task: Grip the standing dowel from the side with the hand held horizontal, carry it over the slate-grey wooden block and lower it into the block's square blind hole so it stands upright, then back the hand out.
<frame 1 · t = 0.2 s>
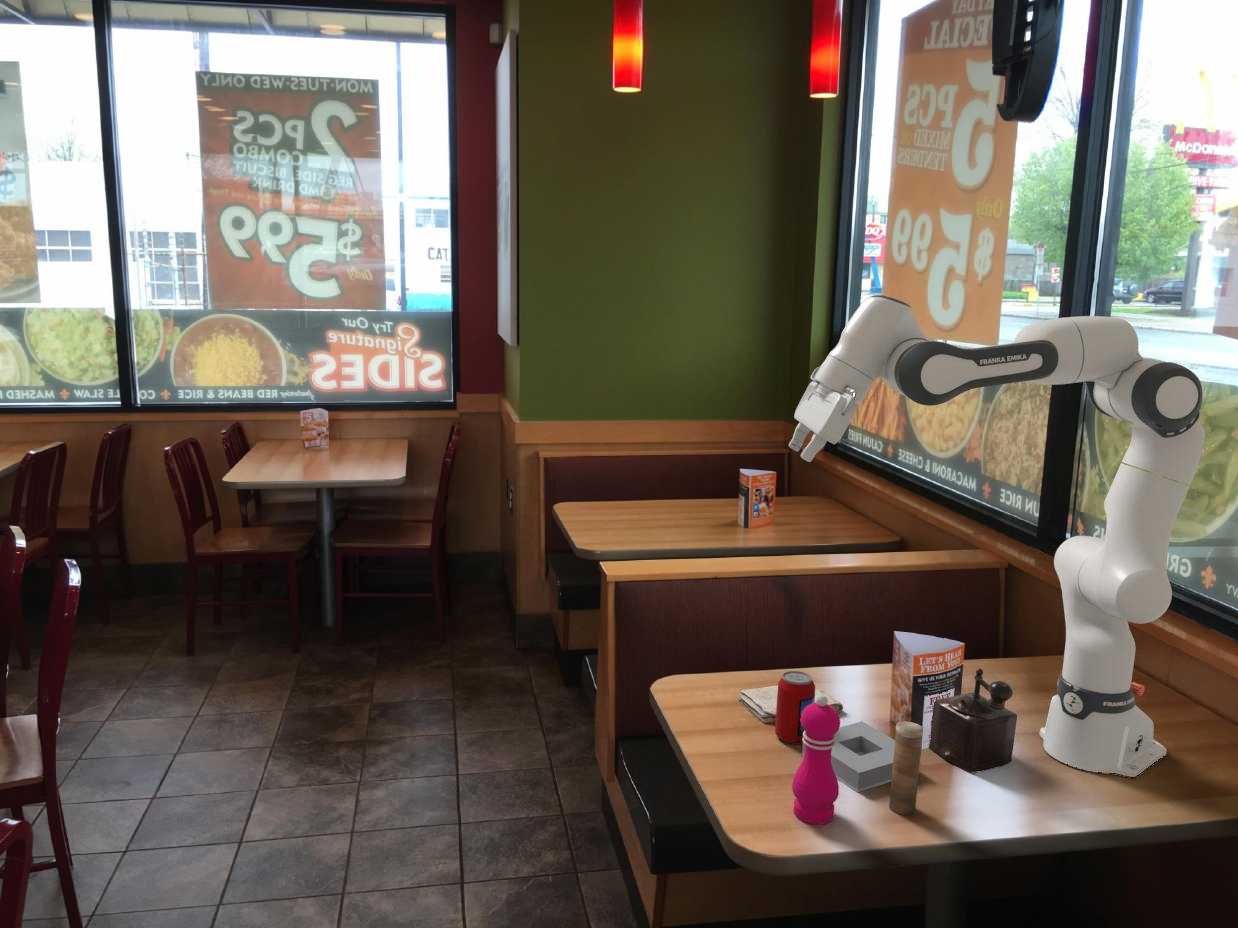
hand: (798, 454, 162), 54 cm above the table, tool tilted 30°, fingers open, 8 cm apart
pepper mill 2: (978, 762, 169), on the table
beverage can: (793, 738, 176), on the table
pepper mill: (813, 814, 151), on the table
dowel: (902, 808, 153), on the table
hole block: (859, 763, 167), on the table
washcloth: (788, 709, 190), on the table
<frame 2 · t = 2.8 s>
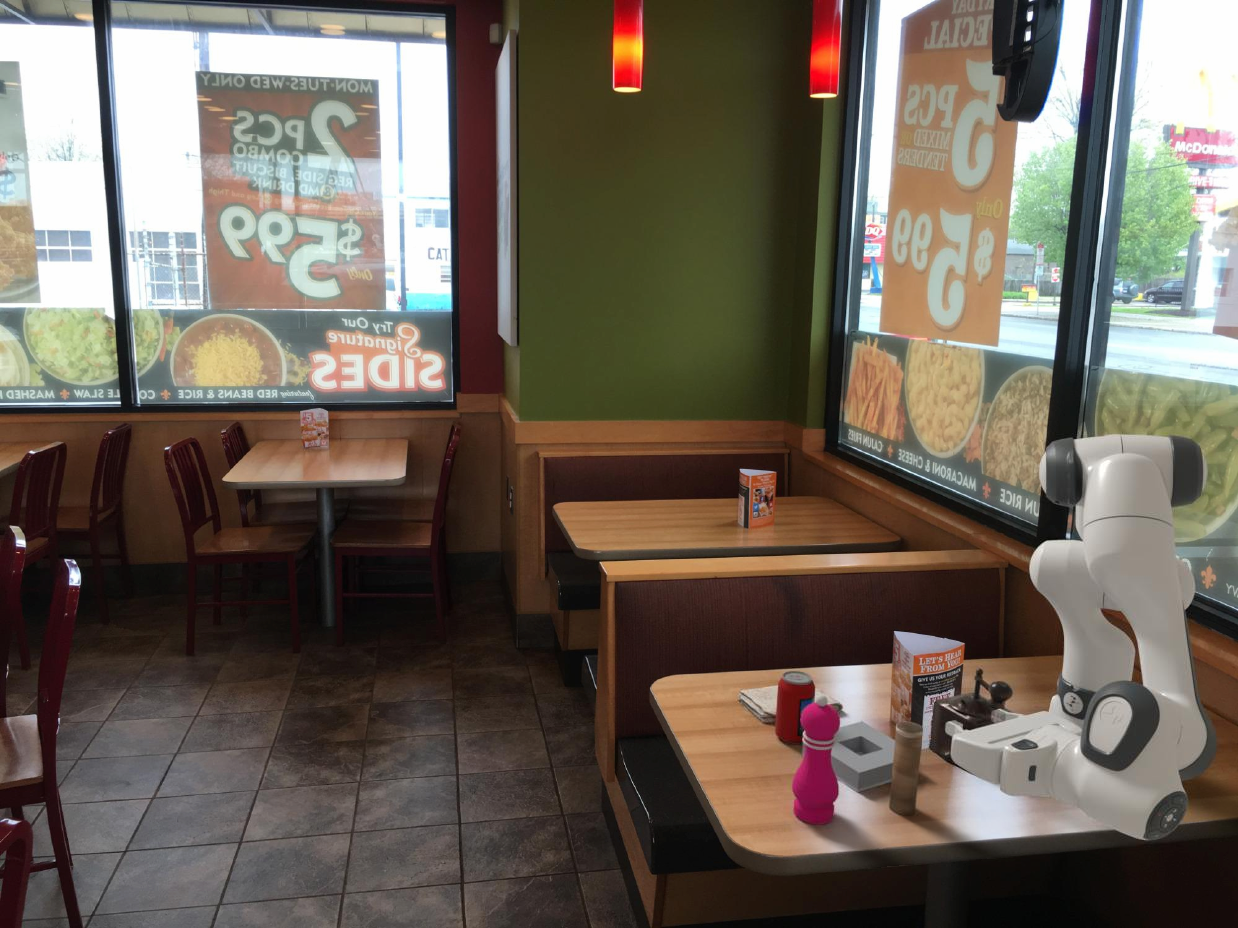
hand: (972, 719, 139), 20 cm above the table, tool horizontal, fingers open, 8 cm apart
nothing on the table moved.
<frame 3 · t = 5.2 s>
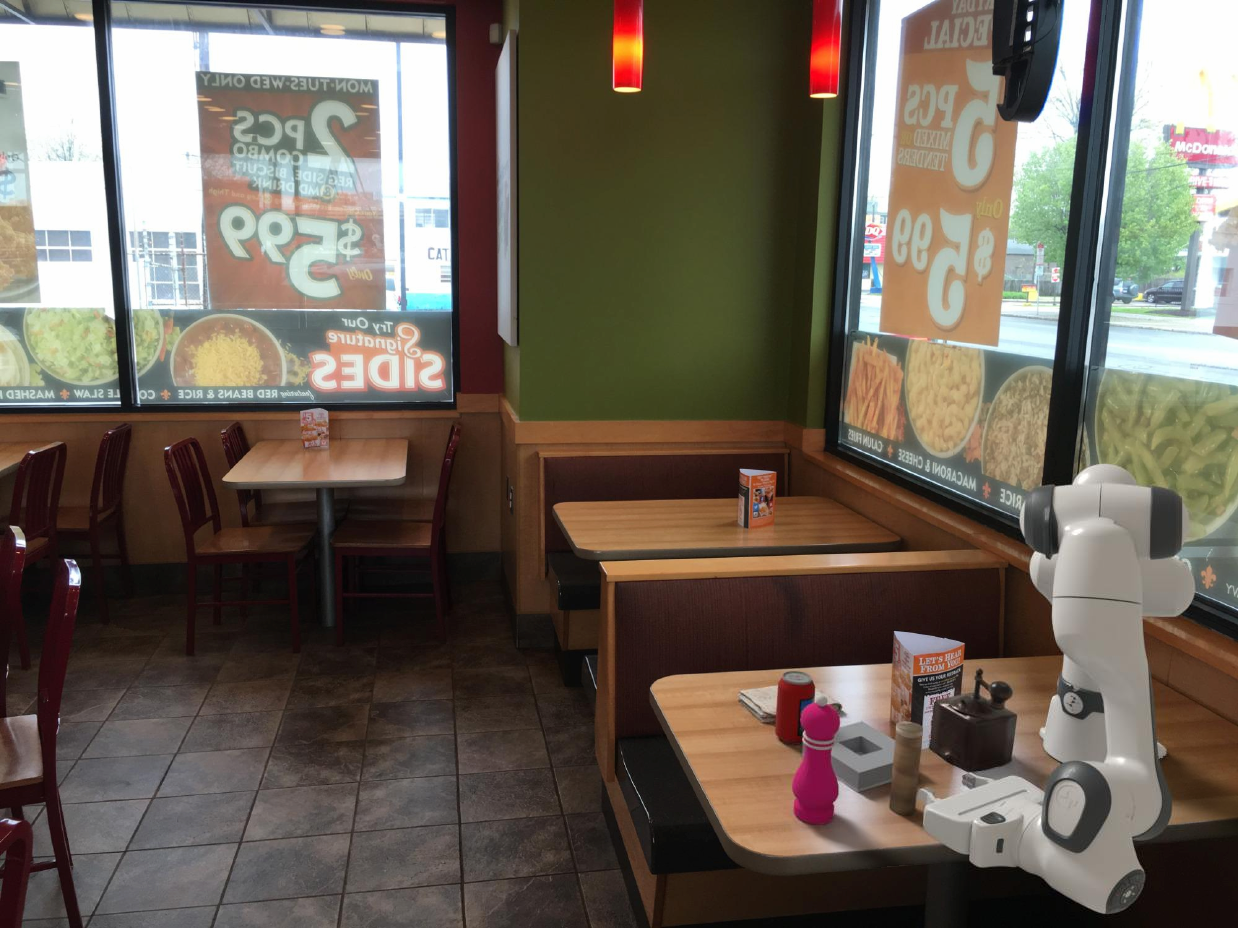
hand: (943, 784, 145), 8 cm above the table, tool horizontal, fingers open, 8 cm apart
nothing on the table moved.
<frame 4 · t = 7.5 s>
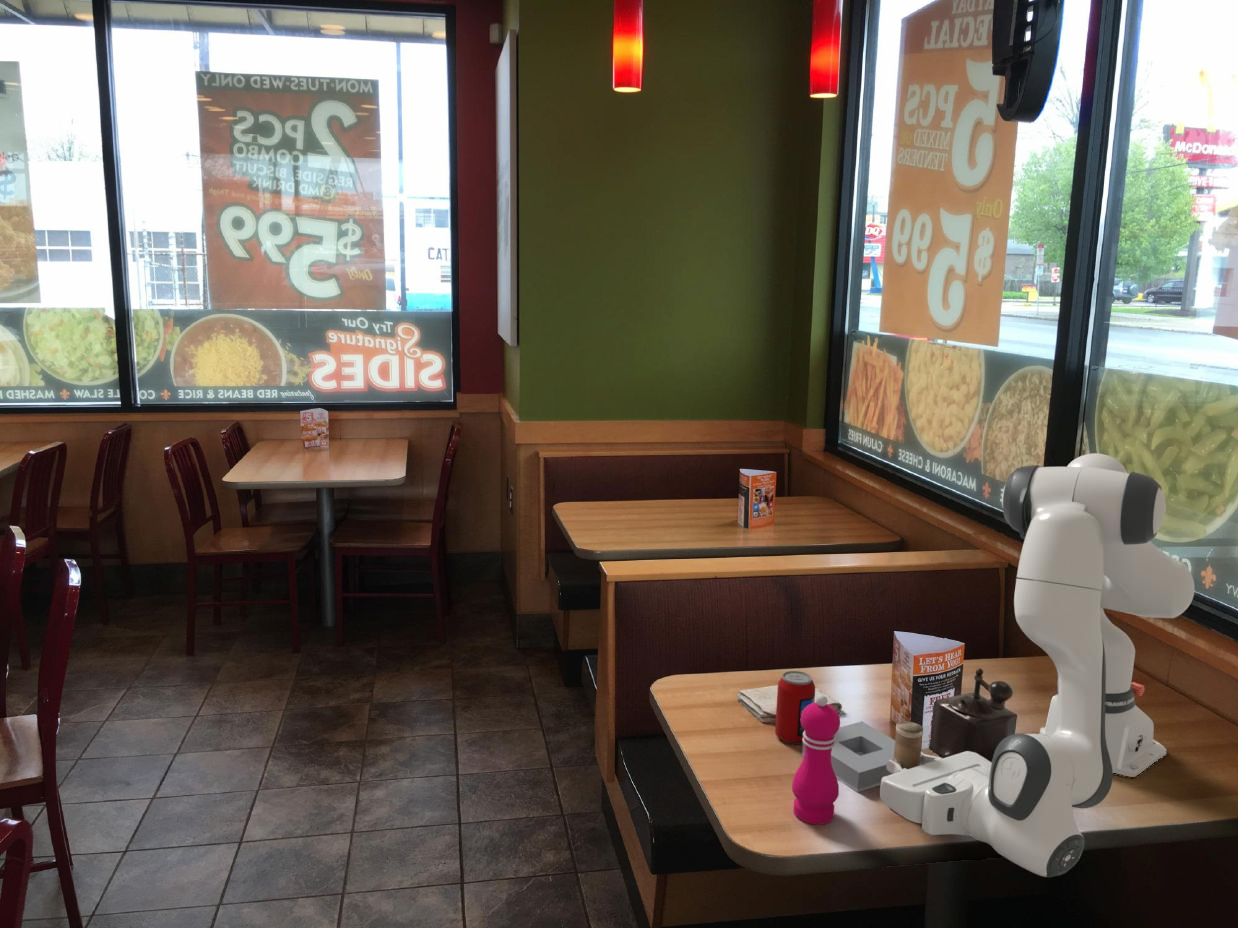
hand: (902, 759, 152), 8 cm above the table, tool horizontal, fingers closed on dowel, 4 cm apart
dowel: (902, 808, 153), on the table, touching gripper
everything else where it was.
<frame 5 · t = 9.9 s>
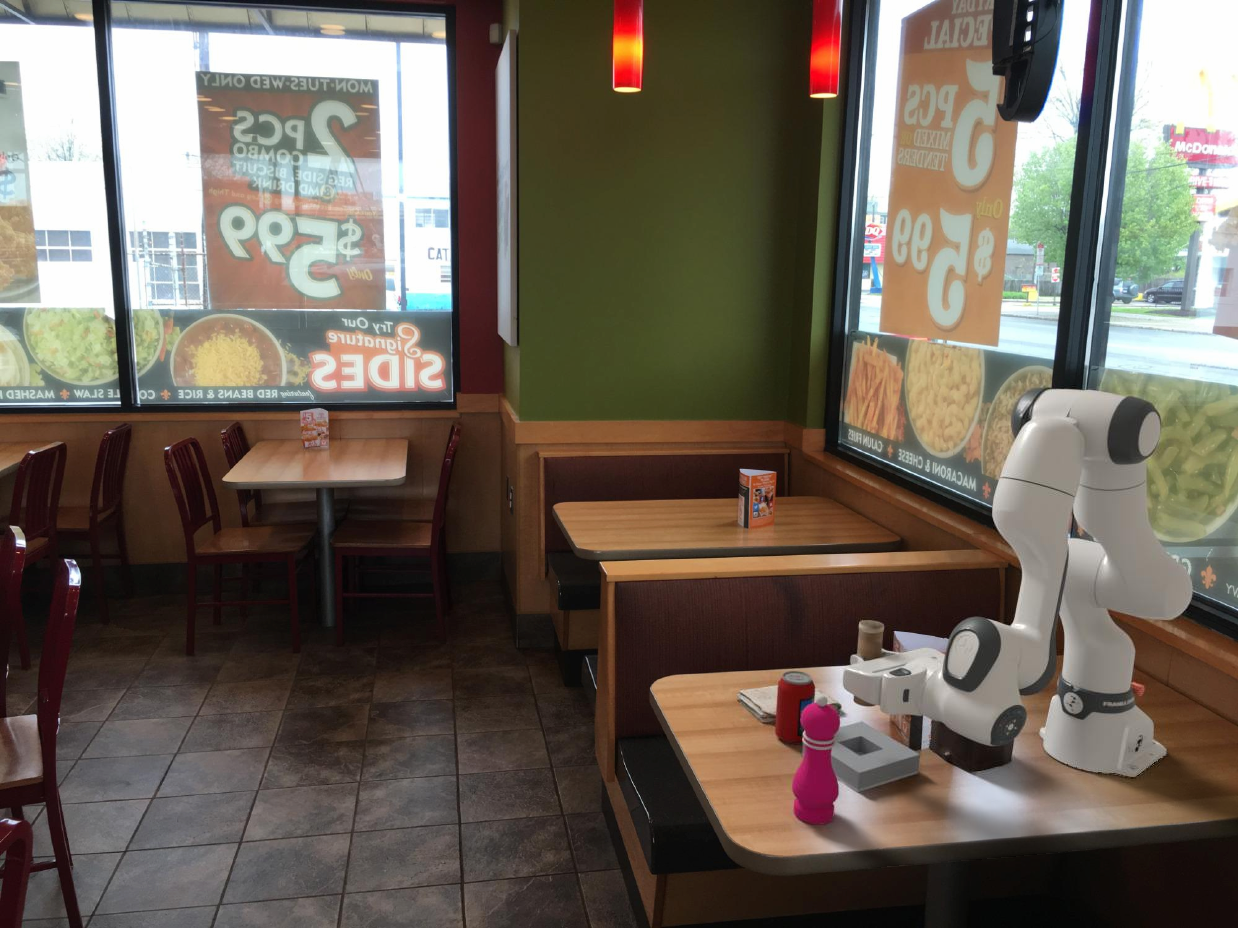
hand: (865, 655, 164), 20 cm above the table, tool horizontal, fingers closed on dowel, 4 cm apart
dowel: (865, 701, 165), point 12 cm above the table, touching gripper
everything else where it was.
when the fingers open (9 cm above the table, at t = 12.8 s): dowel stays where it is, resting on hole block.
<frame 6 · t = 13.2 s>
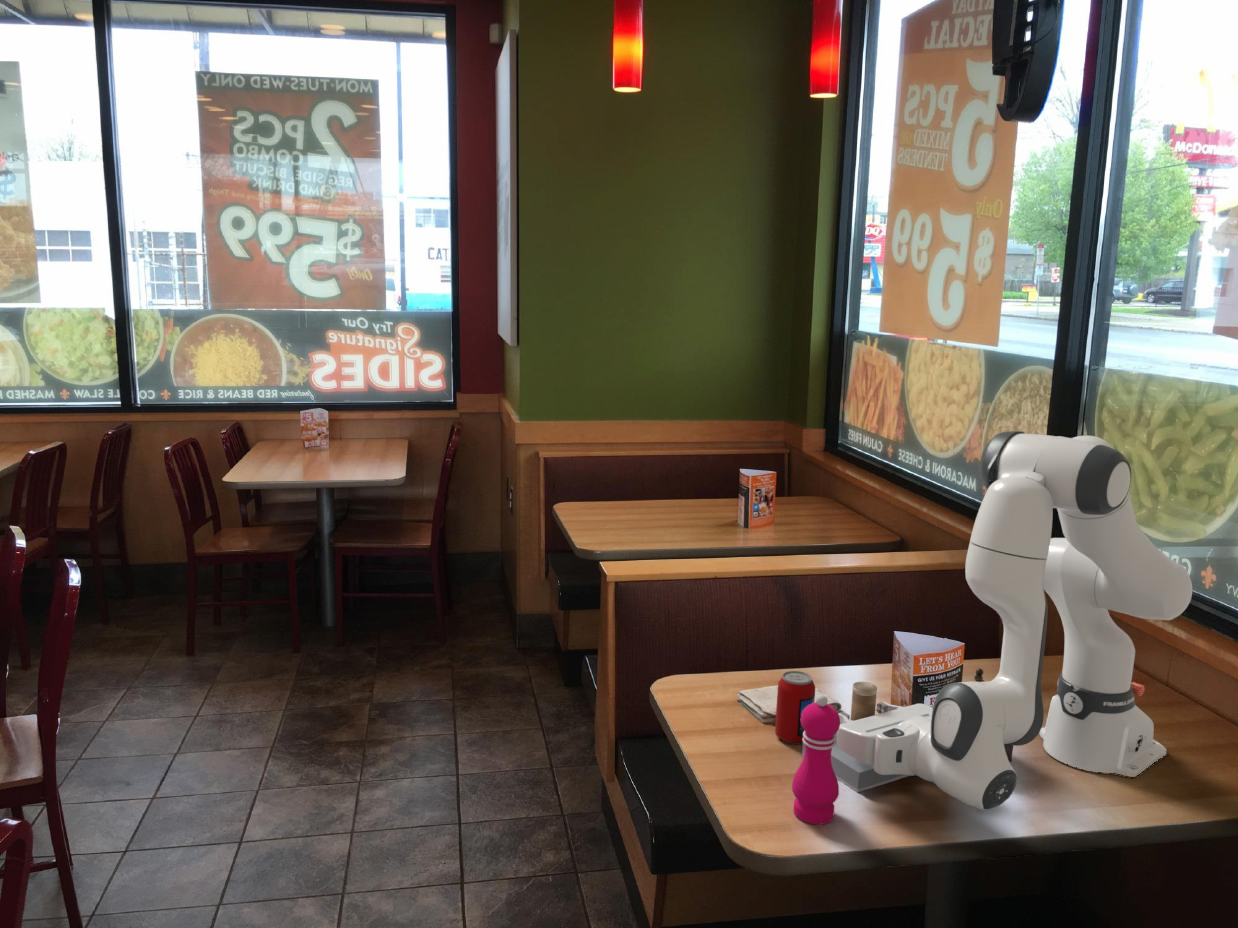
hand: (859, 711, 166), 9 cm above the table, tool horizontal, fingers open, 8 cm apart
dowel: (859, 761, 167), point 1 cm above the table, touching hole block
everything else where it was.
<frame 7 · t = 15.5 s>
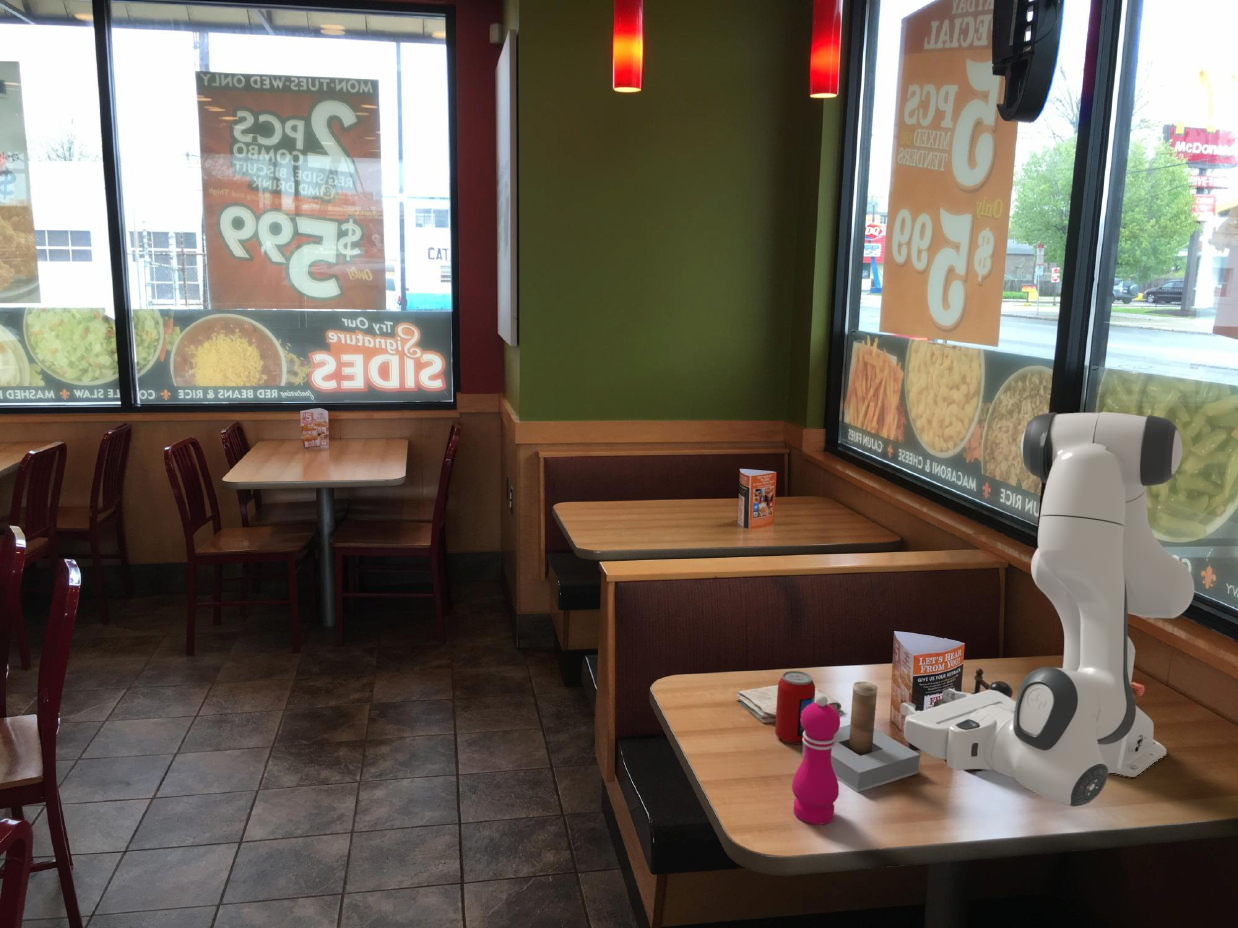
hand: (924, 699, 155), 17 cm above the table, tool horizontal, fingers open, 8 cm apart
nothing on the table moved.
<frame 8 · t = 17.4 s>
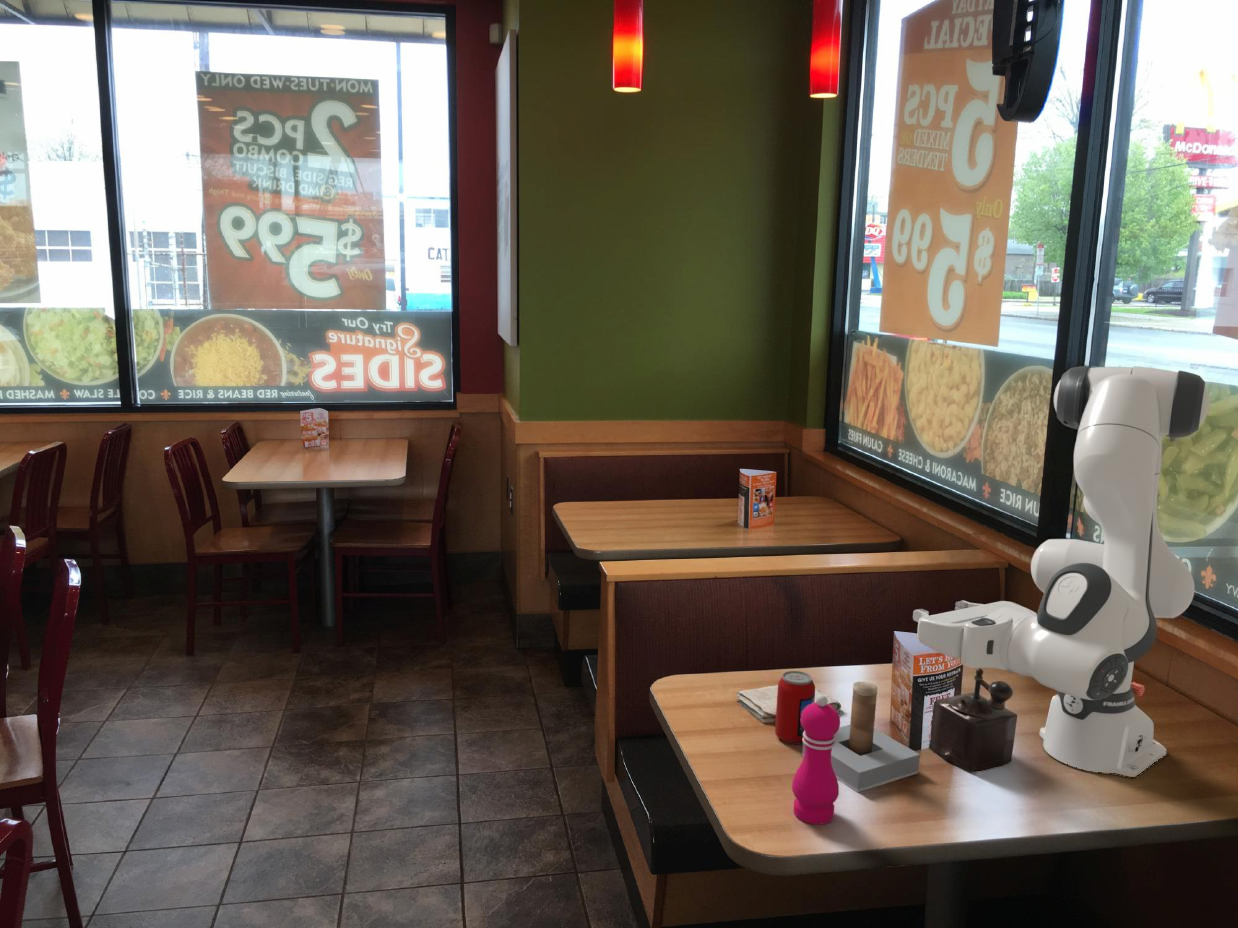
hand: (937, 609, 152), 32 cm above the table, tool horizontal, fingers open, 8 cm apart
nothing on the table moved.
at the end: dowel 0.0 cm off-centre on the hole block, point 0.5 cm above the hole block's base; dowel tilted 0°; the gripper is holding nothing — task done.
